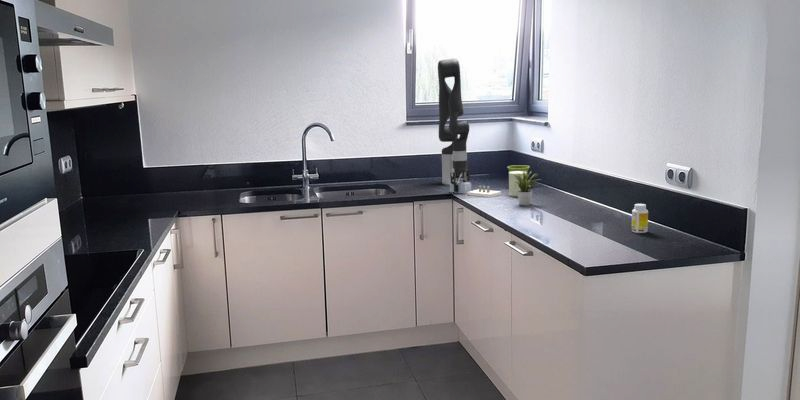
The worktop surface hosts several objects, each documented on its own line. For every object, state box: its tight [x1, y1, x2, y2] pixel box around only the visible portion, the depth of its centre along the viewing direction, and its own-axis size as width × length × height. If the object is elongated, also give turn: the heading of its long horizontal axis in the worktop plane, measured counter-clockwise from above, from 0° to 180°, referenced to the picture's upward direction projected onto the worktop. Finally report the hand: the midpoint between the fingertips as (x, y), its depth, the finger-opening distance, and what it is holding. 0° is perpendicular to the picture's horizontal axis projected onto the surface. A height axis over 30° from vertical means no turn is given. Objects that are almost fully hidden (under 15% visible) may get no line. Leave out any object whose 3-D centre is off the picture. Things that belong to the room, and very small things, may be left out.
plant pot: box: [506, 164, 530, 174], centre depth 339 cm, size 12×12×11 cm
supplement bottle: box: [631, 203, 649, 234], centre depth 232 cm, size 6×6×10 cm
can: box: [508, 171, 528, 198], centre depth 317 cm, size 9×9×12 cm
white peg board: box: [466, 185, 502, 198], centre depth 321 cm, size 10×14×4 cm
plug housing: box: [449, 181, 472, 195], centre depth 331 cm, size 5×10×5 cm, turn 48°
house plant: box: [513, 170, 543, 206], centre depth 290 cm, size 14×14×16 cm
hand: (460, 190), depth 332 cm, fingers open, 7 cm apart
